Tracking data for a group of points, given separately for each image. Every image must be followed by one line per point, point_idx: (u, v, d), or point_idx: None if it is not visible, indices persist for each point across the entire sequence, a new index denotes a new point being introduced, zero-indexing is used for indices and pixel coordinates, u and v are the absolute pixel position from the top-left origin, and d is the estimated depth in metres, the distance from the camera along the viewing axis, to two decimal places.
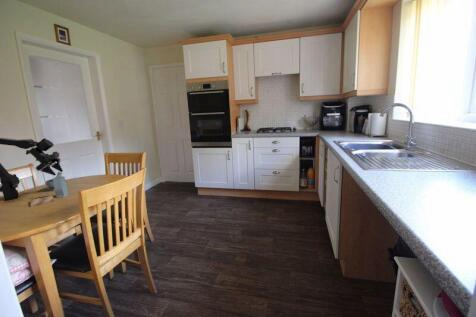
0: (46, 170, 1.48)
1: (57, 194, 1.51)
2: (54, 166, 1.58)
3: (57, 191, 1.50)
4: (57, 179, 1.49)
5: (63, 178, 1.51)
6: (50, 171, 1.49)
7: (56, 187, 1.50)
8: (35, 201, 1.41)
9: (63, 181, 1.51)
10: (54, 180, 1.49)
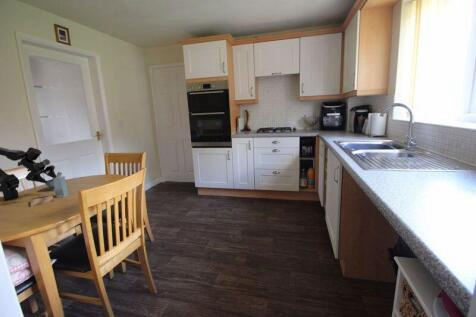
0: (37, 179, 1.44)
1: (57, 194, 1.51)
2: (49, 174, 1.55)
3: (57, 191, 1.50)
4: (57, 179, 1.49)
5: (63, 178, 1.51)
6: (41, 179, 1.44)
7: (56, 187, 1.50)
8: (35, 201, 1.41)
9: (63, 181, 1.51)
10: (54, 180, 1.49)
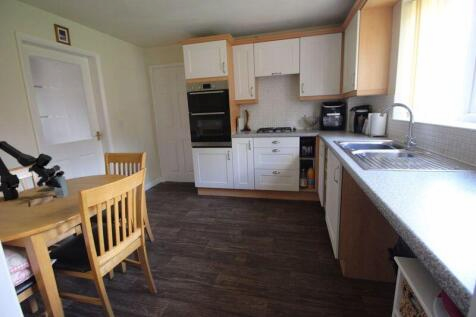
0: (50, 184, 1.47)
1: (57, 194, 1.51)
2: None
3: (57, 191, 1.50)
4: (57, 179, 1.49)
5: (63, 178, 1.52)
6: (54, 184, 1.48)
7: None
8: (35, 201, 1.41)
9: (63, 181, 1.51)
10: (55, 180, 1.49)
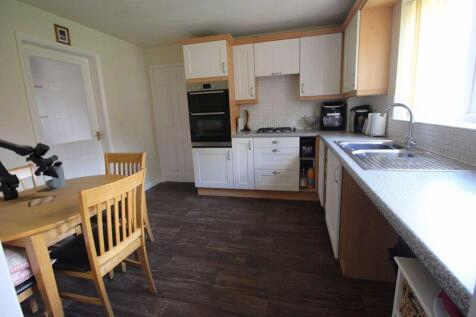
0: (48, 173, 1.46)
1: (55, 184, 1.49)
2: None
3: (55, 181, 1.49)
4: (55, 169, 1.47)
5: (61, 168, 1.50)
6: (52, 174, 1.46)
7: None
8: (35, 201, 1.41)
9: (61, 171, 1.50)
10: (52, 170, 1.47)
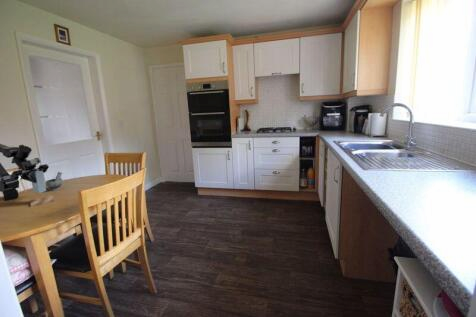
0: (27, 178, 1.38)
1: (34, 189, 1.41)
2: None
3: (34, 186, 1.40)
4: (33, 173, 1.38)
5: (40, 173, 1.40)
6: (30, 178, 1.38)
7: None
8: (35, 201, 1.41)
9: (40, 176, 1.40)
10: (31, 174, 1.39)
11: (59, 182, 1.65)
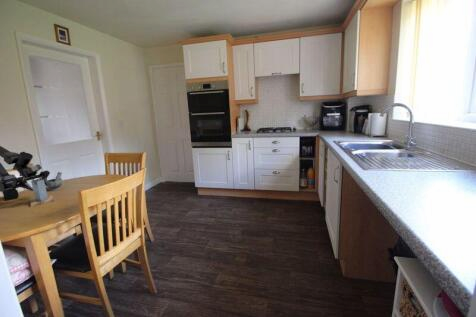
0: (24, 185, 1.37)
1: (36, 198, 1.42)
2: None
3: (35, 195, 1.41)
4: (34, 182, 1.39)
5: (42, 181, 1.41)
6: (27, 186, 1.37)
7: (34, 190, 1.41)
8: (35, 201, 1.41)
9: (41, 185, 1.41)
10: (33, 183, 1.40)
11: (59, 182, 1.65)
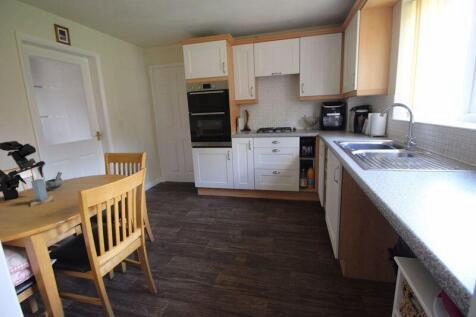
0: (18, 178, 1.44)
1: (36, 198, 1.42)
2: (38, 170, 1.53)
3: (35, 195, 1.41)
4: (34, 182, 1.39)
5: (42, 181, 1.41)
6: (20, 180, 1.44)
7: (34, 190, 1.41)
8: (35, 201, 1.41)
9: (41, 185, 1.41)
10: (33, 183, 1.40)
11: (59, 182, 1.65)
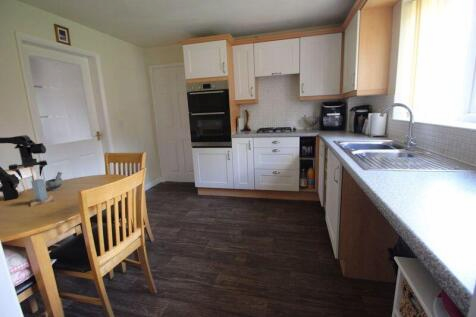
0: None
1: (36, 198, 1.42)
2: (39, 167, 1.56)
3: (35, 195, 1.41)
4: (34, 182, 1.39)
5: (42, 181, 1.41)
6: (18, 174, 1.48)
7: (34, 190, 1.41)
8: (35, 201, 1.41)
9: (41, 185, 1.41)
10: (33, 183, 1.40)
11: (59, 182, 1.66)
